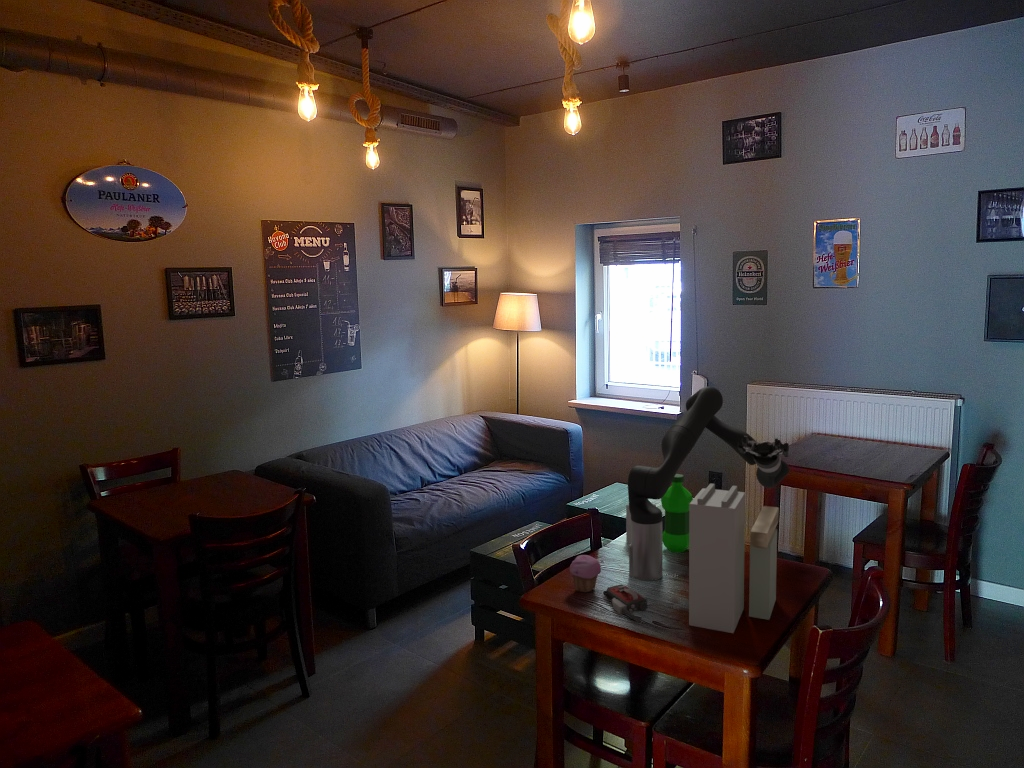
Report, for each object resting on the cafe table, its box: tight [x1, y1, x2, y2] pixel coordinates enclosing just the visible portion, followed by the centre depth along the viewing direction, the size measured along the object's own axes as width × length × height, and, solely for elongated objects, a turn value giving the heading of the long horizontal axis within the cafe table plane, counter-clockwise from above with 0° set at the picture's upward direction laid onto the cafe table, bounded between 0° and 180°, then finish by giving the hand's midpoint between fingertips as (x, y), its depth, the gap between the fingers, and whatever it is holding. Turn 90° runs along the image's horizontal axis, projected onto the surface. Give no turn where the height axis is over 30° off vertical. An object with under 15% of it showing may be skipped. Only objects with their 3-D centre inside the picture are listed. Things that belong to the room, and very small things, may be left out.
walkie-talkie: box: [602, 584, 648, 624], centre depth 194 cm, size 9×4×20 cm
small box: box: [625, 503, 657, 544], centre depth 243 cm, size 8×6×13 cm
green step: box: [748, 528, 778, 621], centre depth 190 cm, size 5×13×20 cm, turn 153°
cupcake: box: [569, 554, 602, 593], centre depth 206 cm, size 9×9×10 cm
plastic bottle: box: [660, 473, 694, 554], centre depth 234 cm, size 10×10×25 cm
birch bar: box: [749, 505, 780, 549], centre depth 191 cm, size 4×23×4 cm, turn 153°
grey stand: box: [688, 483, 746, 634], centre depth 185 cm, size 11×15×34 cm
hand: (760, 440), depth 208 cm, fingers open, 8 cm apart
